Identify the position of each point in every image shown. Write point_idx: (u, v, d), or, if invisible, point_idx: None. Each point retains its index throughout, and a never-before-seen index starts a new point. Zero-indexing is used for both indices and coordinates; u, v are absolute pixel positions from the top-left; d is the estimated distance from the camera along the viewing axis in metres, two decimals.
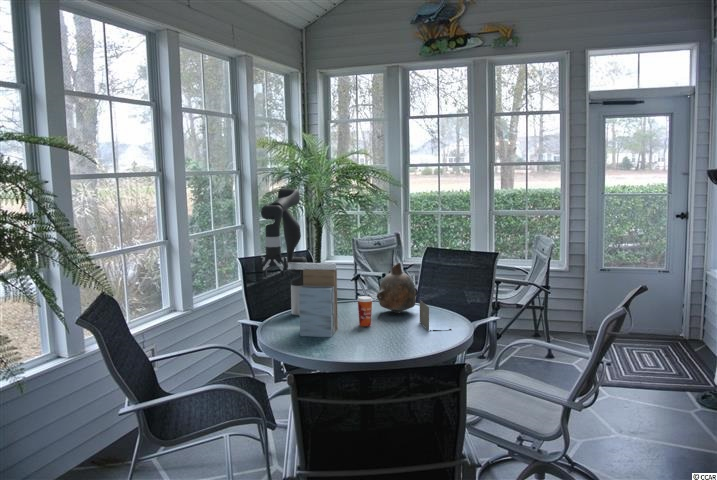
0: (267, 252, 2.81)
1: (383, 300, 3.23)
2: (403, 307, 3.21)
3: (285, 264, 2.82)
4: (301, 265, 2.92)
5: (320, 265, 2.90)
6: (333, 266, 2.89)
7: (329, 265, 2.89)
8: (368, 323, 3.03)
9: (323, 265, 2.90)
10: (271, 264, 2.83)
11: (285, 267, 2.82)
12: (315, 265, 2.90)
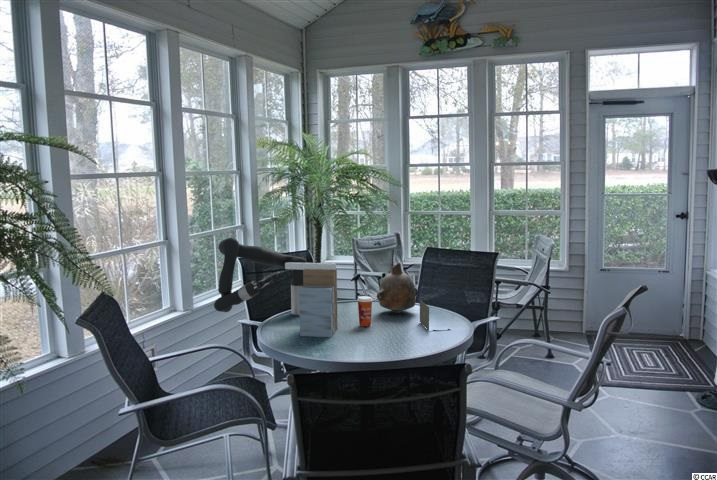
0: None
1: (383, 300, 3.23)
2: (403, 307, 3.21)
3: (260, 287, 2.92)
4: (301, 265, 2.92)
5: (320, 265, 2.90)
6: (333, 266, 2.89)
7: (329, 265, 2.89)
8: (368, 323, 3.03)
9: (323, 265, 2.90)
10: None
11: (262, 285, 2.91)
12: (315, 265, 2.90)
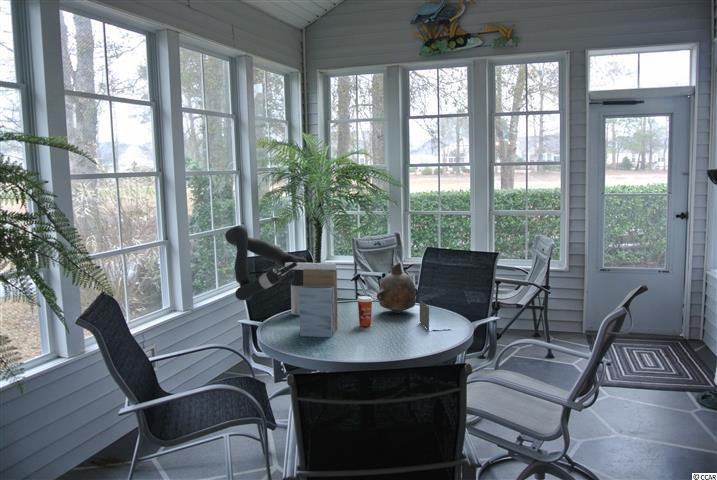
0: None
1: (383, 300, 3.23)
2: (403, 307, 3.21)
3: (284, 272, 2.90)
4: (301, 265, 2.92)
5: (320, 265, 2.90)
6: (333, 266, 2.89)
7: (329, 265, 2.89)
8: (368, 323, 3.03)
9: (323, 265, 2.90)
10: None
11: (287, 271, 2.91)
12: (315, 265, 2.90)
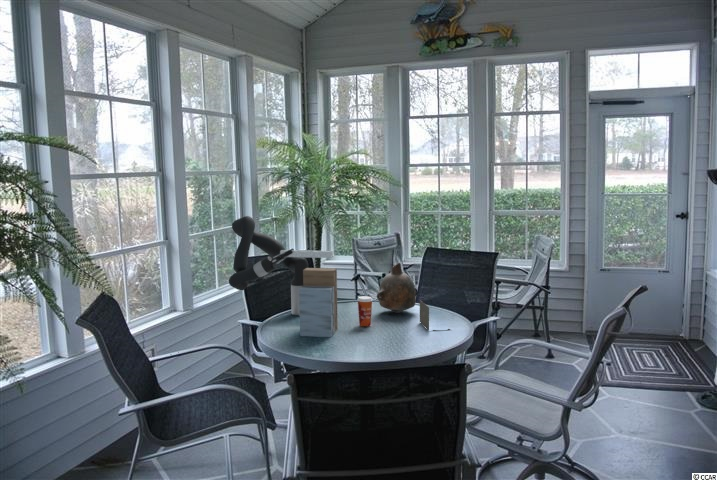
0: None
1: (383, 300, 3.23)
2: (403, 307, 3.21)
3: (279, 260, 2.82)
4: (297, 253, 2.84)
5: (316, 253, 2.82)
6: (330, 254, 2.81)
7: (325, 253, 2.81)
8: (368, 323, 3.03)
9: (319, 253, 2.82)
10: None
11: (282, 259, 2.83)
12: (311, 253, 2.82)
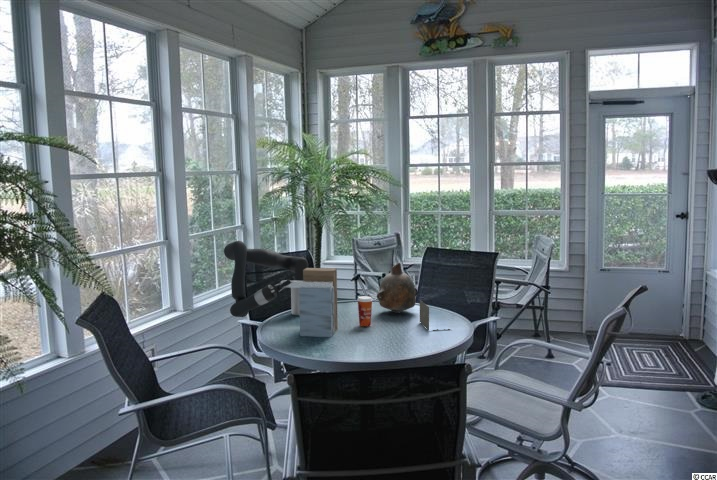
0: None
1: (383, 300, 3.23)
2: (403, 307, 3.21)
3: (278, 290, 2.83)
4: (297, 283, 2.85)
5: (317, 283, 2.83)
6: (330, 284, 2.82)
7: (326, 283, 2.83)
8: (368, 323, 3.03)
9: (320, 283, 2.83)
10: None
11: (280, 289, 2.83)
12: (311, 283, 2.84)
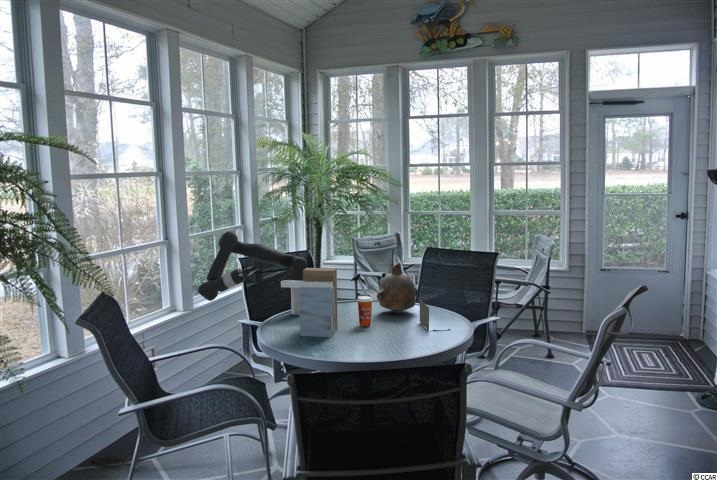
0: None
1: (383, 300, 3.23)
2: (403, 307, 3.21)
3: (246, 274, 2.88)
4: (297, 283, 2.85)
5: (317, 283, 2.83)
6: (330, 284, 2.82)
7: (326, 283, 2.83)
8: (368, 323, 3.03)
9: (320, 283, 2.83)
10: None
11: (248, 273, 2.87)
12: (311, 283, 2.84)
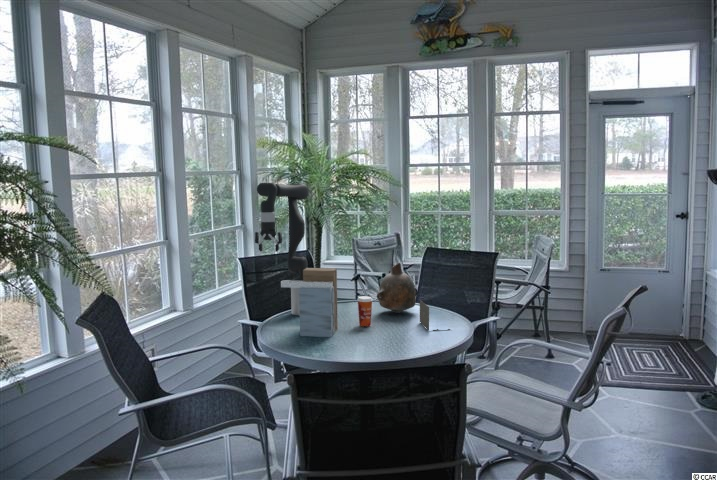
0: (262, 227, 2.97)
1: (383, 300, 3.23)
2: (403, 307, 3.21)
3: (279, 238, 2.99)
4: (297, 283, 2.85)
5: (317, 283, 2.83)
6: (330, 284, 2.82)
7: (326, 283, 2.83)
8: (368, 323, 3.03)
9: (320, 283, 2.83)
10: (266, 238, 3.00)
11: (279, 241, 2.99)
12: (311, 283, 2.84)
